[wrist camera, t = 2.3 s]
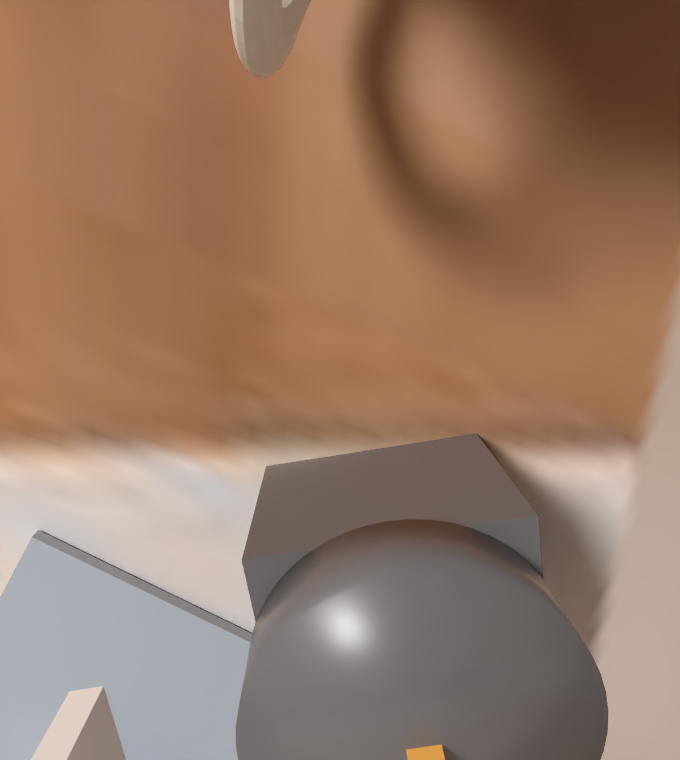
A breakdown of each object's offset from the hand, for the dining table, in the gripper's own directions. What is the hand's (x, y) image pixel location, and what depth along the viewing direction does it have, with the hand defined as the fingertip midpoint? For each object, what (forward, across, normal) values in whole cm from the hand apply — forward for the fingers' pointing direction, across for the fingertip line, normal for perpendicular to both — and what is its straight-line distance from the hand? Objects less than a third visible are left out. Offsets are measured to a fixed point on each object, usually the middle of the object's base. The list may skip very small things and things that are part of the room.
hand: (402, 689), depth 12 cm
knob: (+5, 0, 0) cm, 5 cm away
